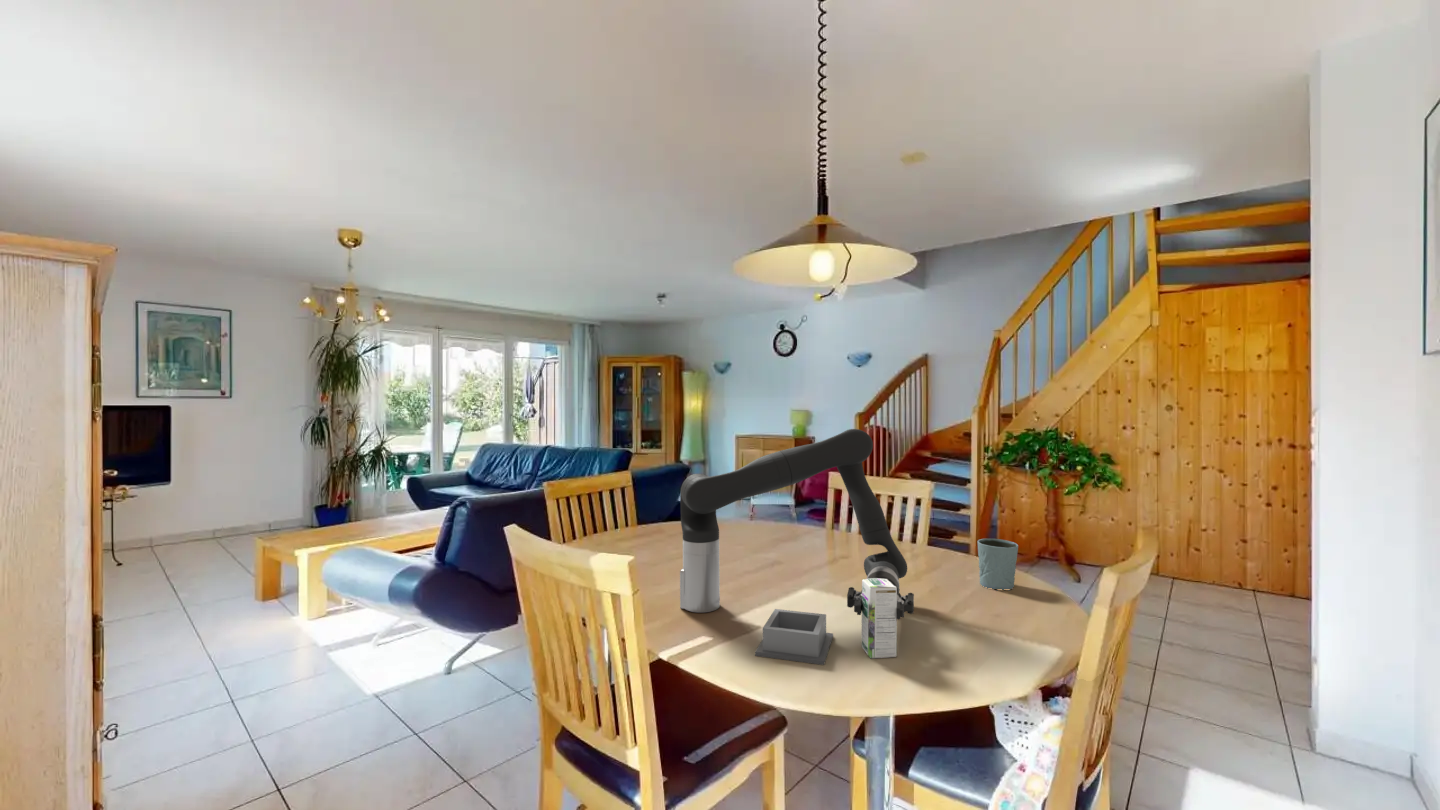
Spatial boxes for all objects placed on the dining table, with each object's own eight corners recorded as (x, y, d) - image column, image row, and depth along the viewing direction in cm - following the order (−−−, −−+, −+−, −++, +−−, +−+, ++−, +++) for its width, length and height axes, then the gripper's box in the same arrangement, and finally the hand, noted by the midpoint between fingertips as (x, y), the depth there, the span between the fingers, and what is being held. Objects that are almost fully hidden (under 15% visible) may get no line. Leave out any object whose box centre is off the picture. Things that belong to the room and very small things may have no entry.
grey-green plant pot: (970, 580, 166) (970, 538, 166) (1003, 579, 167) (1003, 537, 167) (990, 592, 156) (990, 547, 156) (1026, 591, 157) (1026, 546, 157)
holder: (755, 655, 119) (754, 629, 119) (770, 629, 133) (770, 606, 133) (823, 665, 115) (823, 638, 115) (833, 636, 128) (832, 612, 128)
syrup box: (860, 646, 123) (860, 578, 123) (887, 645, 123) (887, 577, 123) (869, 659, 117) (869, 587, 117) (898, 657, 118) (897, 586, 118)
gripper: (850, 567, 136) (842, 590, 120) (915, 573, 132) (915, 597, 116) (850, 599, 136) (842, 626, 120) (915, 606, 132) (915, 635, 116)
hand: (878, 612), depth 118 cm, fingers closed on syrup box, 7 cm apart
